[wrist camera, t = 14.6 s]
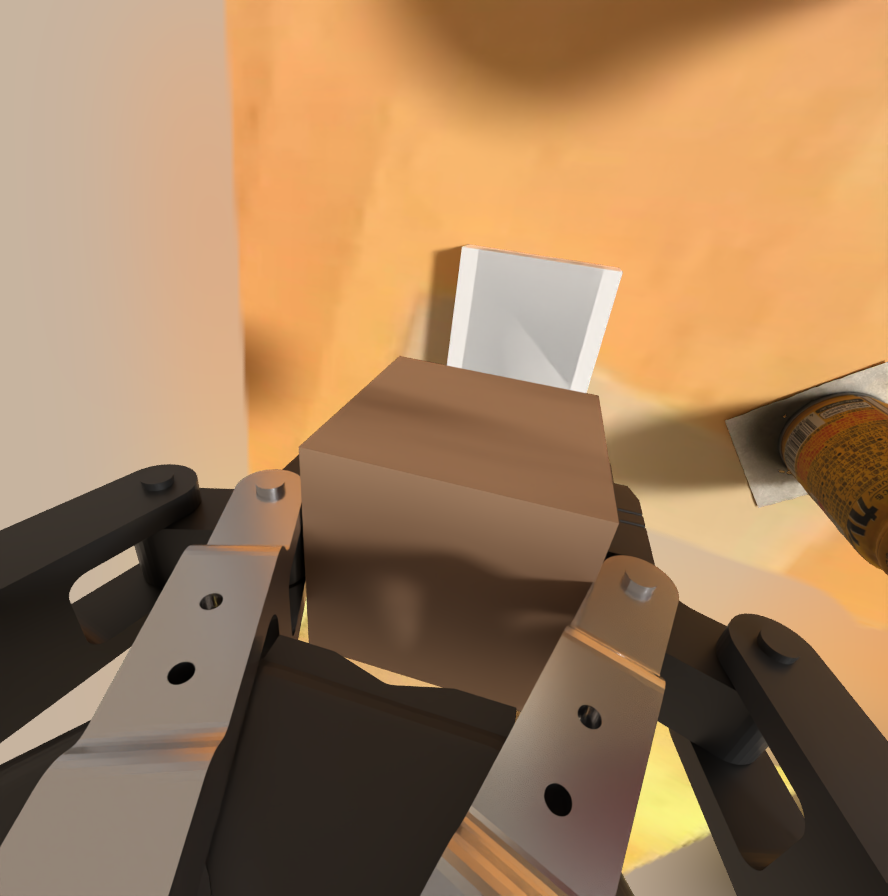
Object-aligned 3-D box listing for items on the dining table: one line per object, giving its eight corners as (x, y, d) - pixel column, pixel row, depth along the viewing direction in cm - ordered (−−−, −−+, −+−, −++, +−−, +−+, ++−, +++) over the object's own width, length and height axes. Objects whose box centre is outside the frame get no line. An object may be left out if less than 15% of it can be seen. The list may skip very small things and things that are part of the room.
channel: (530, 567, 38) (527, 598, 35) (428, 540, 39) (417, 568, 36) (619, 267, 26) (625, 275, 23) (468, 244, 27) (456, 248, 24)
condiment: (914, 463, 27) (1124, 618, 17) (757, 506, 31) (851, 655, 21) (888, 359, 25) (1111, 465, 15) (723, 418, 29) (809, 536, 18)
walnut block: (549, 551, 13) (539, 717, 9) (388, 510, 14) (309, 646, 10) (598, 395, 11) (618, 523, 6) (399, 355, 11) (298, 446, 7)
